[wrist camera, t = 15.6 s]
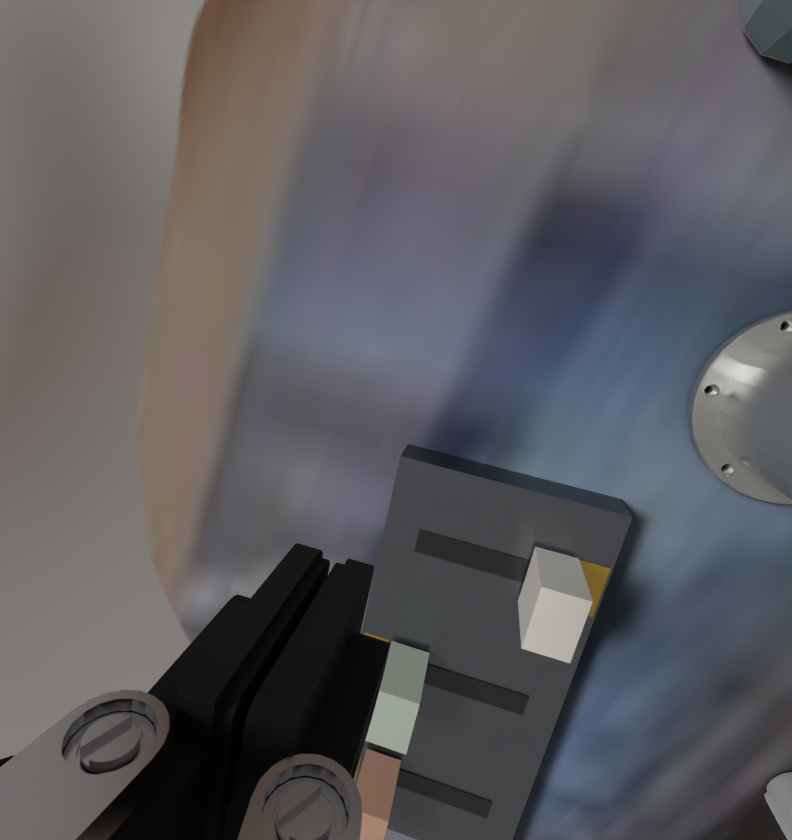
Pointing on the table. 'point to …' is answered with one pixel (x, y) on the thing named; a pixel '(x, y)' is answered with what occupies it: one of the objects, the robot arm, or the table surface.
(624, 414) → the table surface
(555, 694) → the grey slotted slider board
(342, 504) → the table surface
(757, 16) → the disposable coffee cup
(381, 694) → the slider sage
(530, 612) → the slider ivory
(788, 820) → the photo printer
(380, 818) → the slider terracotta
